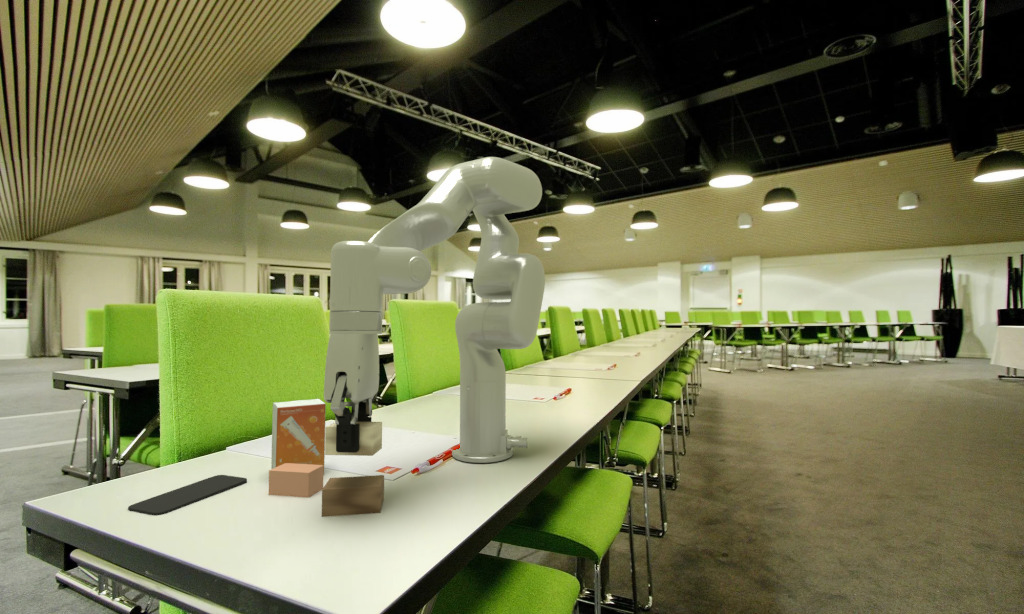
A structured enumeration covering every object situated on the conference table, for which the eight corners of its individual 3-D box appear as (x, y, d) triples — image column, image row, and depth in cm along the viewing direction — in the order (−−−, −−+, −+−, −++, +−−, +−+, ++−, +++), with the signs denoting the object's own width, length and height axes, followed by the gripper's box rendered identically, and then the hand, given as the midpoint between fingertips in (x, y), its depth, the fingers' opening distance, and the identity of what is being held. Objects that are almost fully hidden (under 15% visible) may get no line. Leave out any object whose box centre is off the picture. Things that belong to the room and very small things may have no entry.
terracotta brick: (323, 489, 75) (323, 465, 76) (308, 498, 72) (308, 472, 72) (285, 487, 77) (285, 463, 77) (268, 495, 73) (269, 470, 73)
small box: (274, 484, 77) (276, 407, 78) (270, 474, 83) (272, 401, 83) (325, 475, 82) (326, 402, 82) (318, 466, 87) (319, 397, 88)
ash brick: (381, 448, 70) (382, 421, 70) (372, 455, 66) (372, 427, 66) (336, 447, 70) (337, 421, 70) (324, 455, 66) (325, 427, 66)
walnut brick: (383, 501, 71) (384, 475, 71) (380, 514, 66) (380, 486, 66) (329, 504, 69) (330, 477, 69) (321, 518, 64) (322, 489, 65)
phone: (123, 507, 67) (218, 474, 81) (123, 512, 67) (218, 478, 81) (158, 513, 65) (250, 478, 79) (158, 519, 65) (250, 483, 79)
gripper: (353, 324, 77) (351, 433, 76) (303, 324, 60) (300, 464, 60) (397, 324, 77) (396, 434, 76) (359, 324, 60) (357, 465, 59)
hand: (354, 446), depth 68 cm, fingers closed on ash brick, 4 cm apart
